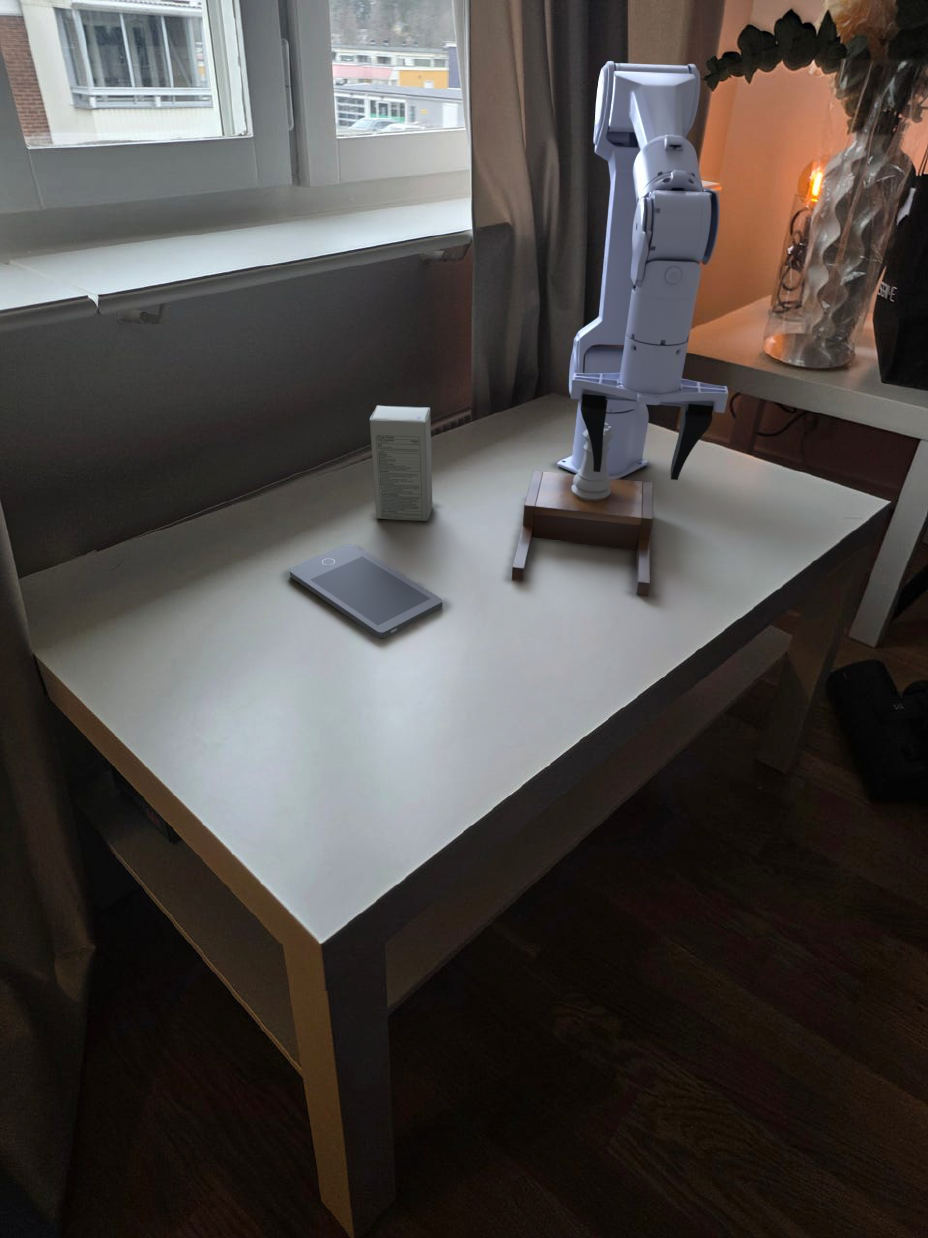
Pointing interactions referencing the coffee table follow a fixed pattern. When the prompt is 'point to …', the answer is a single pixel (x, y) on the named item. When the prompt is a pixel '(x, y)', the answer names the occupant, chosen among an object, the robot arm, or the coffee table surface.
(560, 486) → the brown u-shaped piece
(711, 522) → the coffee table surface
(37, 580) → the coffee table surface
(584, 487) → the rook chess piece
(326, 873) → the coffee table surface
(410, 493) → the cosmetic box
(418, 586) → the smartphone
